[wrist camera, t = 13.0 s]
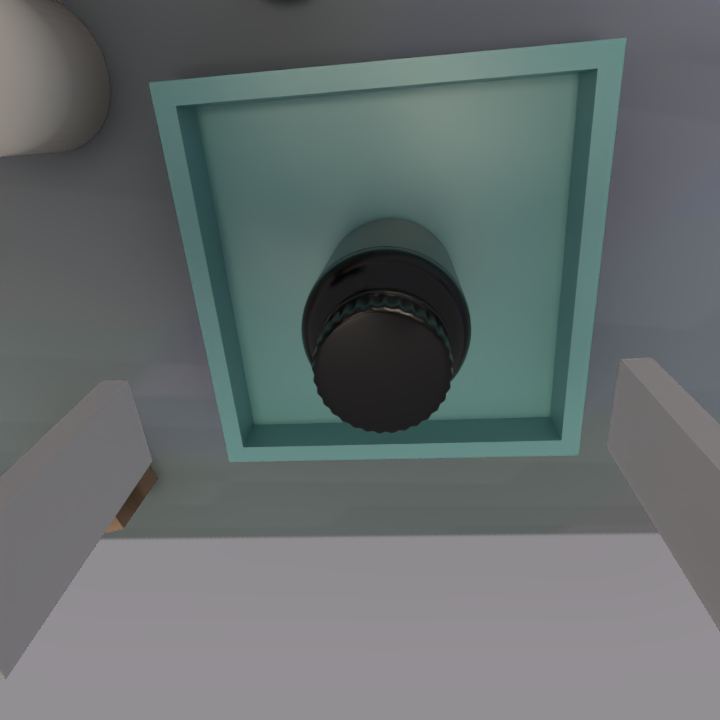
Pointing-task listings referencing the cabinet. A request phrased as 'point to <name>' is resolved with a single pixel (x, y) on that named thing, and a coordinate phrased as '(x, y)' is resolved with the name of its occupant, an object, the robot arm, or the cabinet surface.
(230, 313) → the tray
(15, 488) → the robot arm
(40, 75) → the cream round piece
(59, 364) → the cabinet surface
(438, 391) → the supplement bottle
